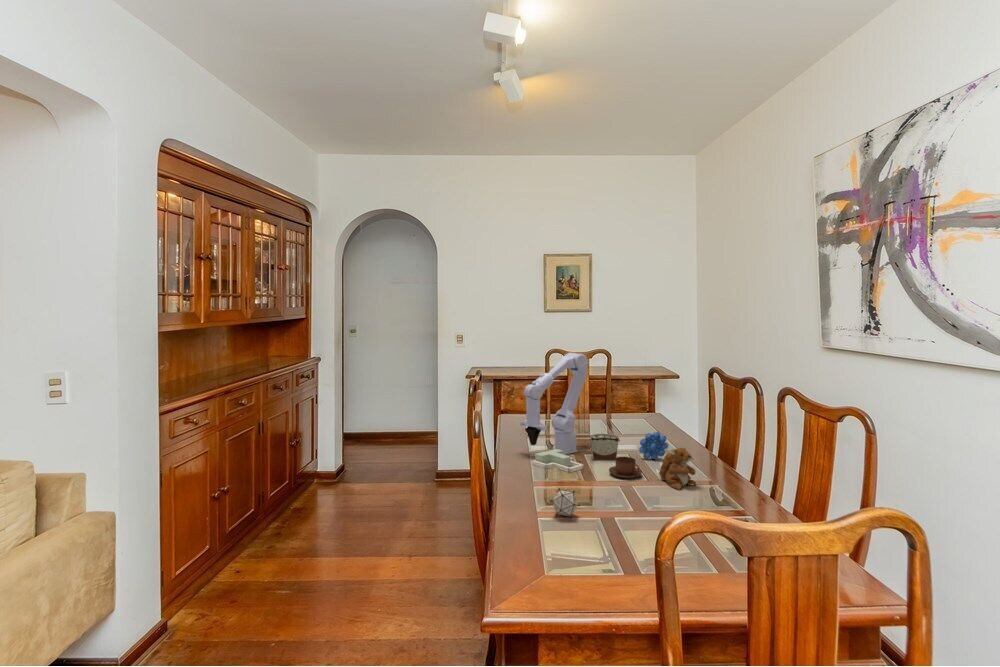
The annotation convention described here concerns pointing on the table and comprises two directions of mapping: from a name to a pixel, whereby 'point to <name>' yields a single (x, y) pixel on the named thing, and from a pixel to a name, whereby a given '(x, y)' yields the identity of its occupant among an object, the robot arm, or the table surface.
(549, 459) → the T block
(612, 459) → the food container
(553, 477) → the table surface
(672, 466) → the stuffed squirrel
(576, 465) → the T socket
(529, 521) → the table surface
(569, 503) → the game die
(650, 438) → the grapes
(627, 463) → the cup and saucer
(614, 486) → the table surface
